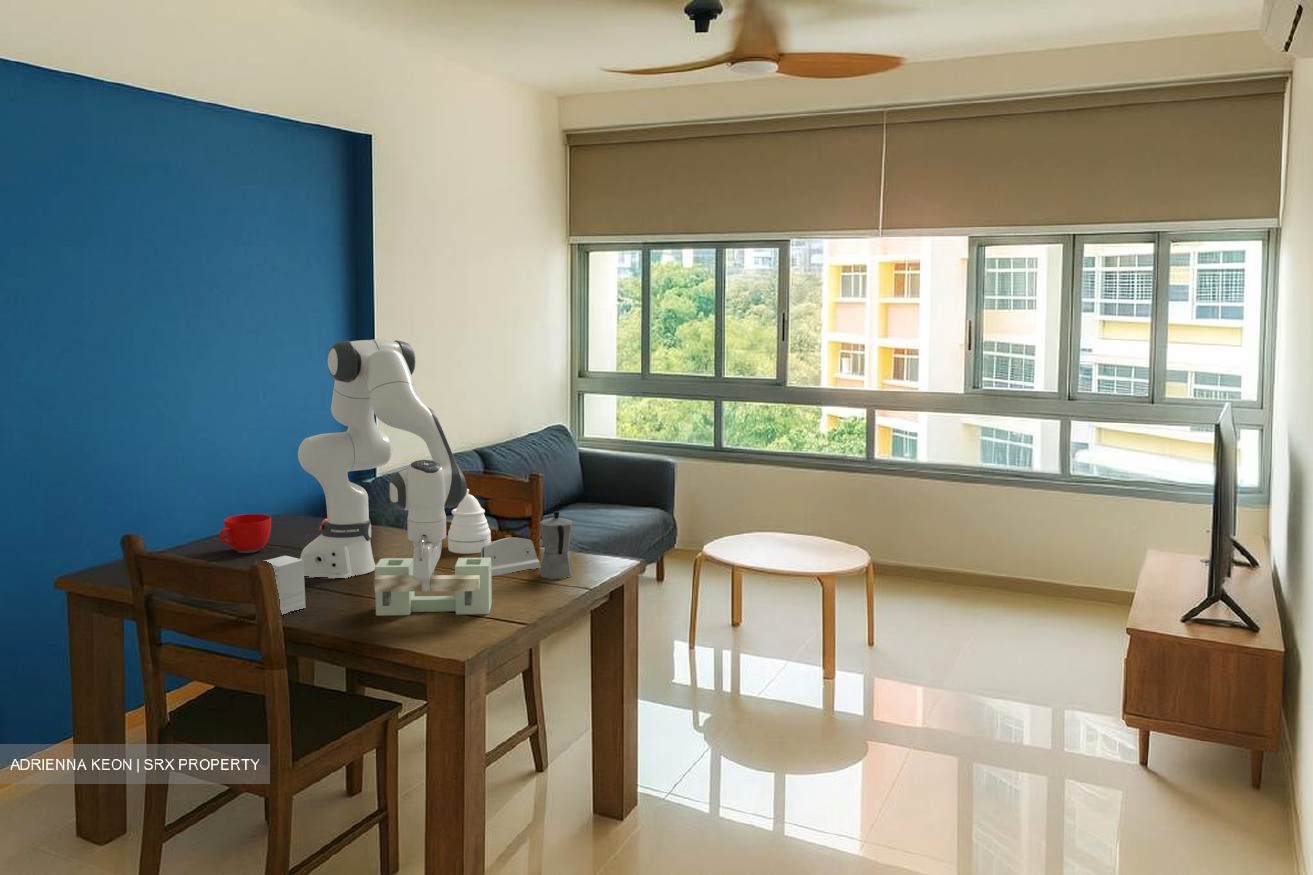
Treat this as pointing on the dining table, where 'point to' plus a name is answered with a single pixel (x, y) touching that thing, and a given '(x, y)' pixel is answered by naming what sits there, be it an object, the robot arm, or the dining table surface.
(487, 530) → the honey pot
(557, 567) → the coffeepot
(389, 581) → the rail
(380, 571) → the posts
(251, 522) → the ceramic cup
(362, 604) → the dining table surface
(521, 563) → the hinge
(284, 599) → the supplement box
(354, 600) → the dining table surface
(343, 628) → the dining table surface
